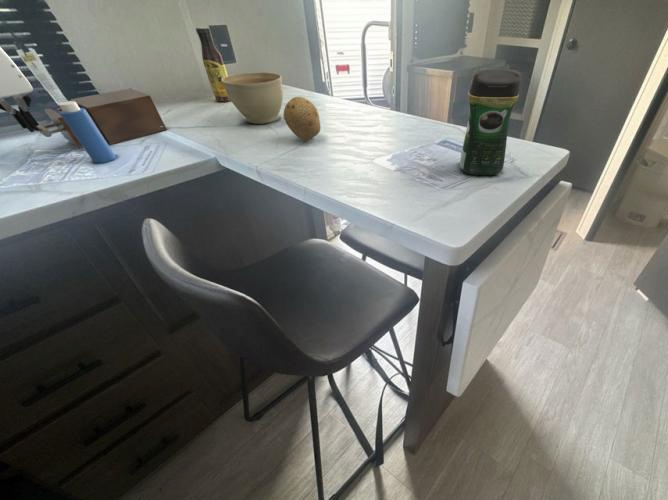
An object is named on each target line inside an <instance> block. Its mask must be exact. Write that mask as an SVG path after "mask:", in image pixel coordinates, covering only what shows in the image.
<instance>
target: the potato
mask: <svg viewBox="0 0 668 500" xmlns="http://www.w3.org/2000/svg"><path fill="white" fill-rule="evenodd" d="M283 119H284V121H285V123H286V126H287V127H288V128H289V129H290V131H291V132H292V133H293V134H294V135H295V136H296V137H297V138H298V139H299V140H302V141H304V142H309V141H311V140H312V139H313V138H314V137H316V136H318V134H319V133H320V132H321V120H320V114H319V111H318V108H317V107H316V105H315V104H314V103H313V102H312V101H310V100H309V99H307V98H305V97H303V96H295V97H292V98H290V100H289V101H288V102H287V103H286V105H285V107H284V109H283Z"/></svg>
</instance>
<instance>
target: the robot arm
mask: <svg viewBox="0 0 668 500" xmlns="http://www.w3.org/2000/svg"><path fill="white" fill-rule="evenodd" d="M40 97H41V94H40V93H39V92H38V91H37V90H36V89H35V88H33V86H32V84H31V83H30V81H29V80H28V79H27V77H26V76H25V74H23V72H22V71H21V69H20V68H19V67H18V66H17V64H16V63H15V62H14V61H13V59H12V58H11V57H10V56H9V54H8V53H6V51H5V50H4V49H3V48H2V47H1V46H0V110H1V111H4V112H7V113H9V114H11V115H12V116H13V118H14V119H15V121H16V122H17V123H18V124H19V125H20V126H21V128H22V129H27V130H28V131H29V132H30V133H34V132H35V131H36V132H39V129H38V128H37V126H38V125H39V124H40V123H38V121H37V120H36V119H35V118H34V116H33V115H32V113H31V112H30V107H31V102H33V101H35V100H37V99H39V98H40ZM6 98H13V100H14V102H15V103H16V105H17V106H18V107H17V109H18V110H19V111H18V110H17V109H16V108H14V107H13V106H12V105H11V104H10V103H9V102H8V101H7V100H6Z"/></svg>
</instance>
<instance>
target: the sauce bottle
mask: <svg viewBox="0 0 668 500" xmlns="http://www.w3.org/2000/svg"><path fill="white" fill-rule="evenodd" d="M195 31H196V34H197V35H198V38H199V41H200V45H201V46H200V47H201V55H202V63H203V66H204V69H205V73H206V75H207V78H208V81H209V84H210V87H211V89H212V92H213V95H214V97H215V100H216V101H218V102H221V103H223V102H225V103H226V102H227V103H228V102H232V101H231V100H230V98H229V96H228V94H227V92H226V89H225V87H224V85H223V83H222V81H221V80H222V78H224V77H227V76H229V75H228V71H227V68H226V65H225V63H224V59H223V56H222V54H221V52H220V50H218V48H217V47H216V45H215V42H214V39H213V37H212V31H211V28H210V27H209V26H196V27H195Z"/></svg>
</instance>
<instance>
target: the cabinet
mask: <svg viewBox="0 0 668 500" xmlns="http://www.w3.org/2000/svg"><path fill="white" fill-rule="evenodd" d="M70 101H75V102H76V103H77V105H78V106H80V107H82V108H84V109H86V110H88V111H89V113H90V114H91V116H92V117H93V119H94V120H95V122H96V123H97V125H98V127H99V128H100V130H101V131H102V133H103V134H104V136H105V138H106V139H105V141H106V142H107V144H108V145H114V144H117V143H123V142H125V141H129V140H134V139H137V138H141V137H144V136H149V135H152V134H156V133H160V132H164V131H167V127H166V124H165V123H164V121H163V119H162V117H161V115H160V113H159V111H158V109H157V107H156V105H155V103H154V101H153V99H152V97H151V94H148V93H144V92H142V91H139V90H136V89H133V88H126V89H119V90H114V91H109V92H104V93H98V94H94V95H93V94H92V95H87V96H82V97H75V98H70ZM160 126H163V127H160Z"/></svg>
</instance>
